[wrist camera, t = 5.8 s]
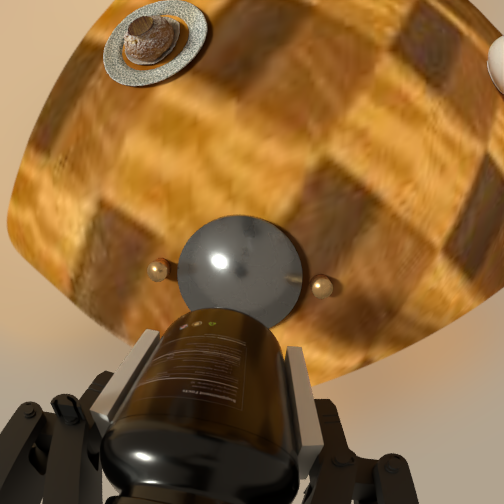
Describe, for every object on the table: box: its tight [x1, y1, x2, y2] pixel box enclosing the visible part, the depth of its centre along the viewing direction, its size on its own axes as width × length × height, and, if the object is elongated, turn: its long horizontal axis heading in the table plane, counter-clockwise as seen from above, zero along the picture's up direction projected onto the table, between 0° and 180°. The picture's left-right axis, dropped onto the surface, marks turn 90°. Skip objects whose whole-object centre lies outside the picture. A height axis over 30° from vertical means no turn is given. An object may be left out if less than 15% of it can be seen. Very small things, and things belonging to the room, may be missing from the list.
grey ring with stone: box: [103, 0, 208, 86], centre depth 19 cm, size 12×12×5 cm
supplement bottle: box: [100, 307, 300, 504], centre depth 8 cm, size 7×7×12 cm
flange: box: [147, 215, 333, 328], centre depth 26 cm, size 12×18×2 cm, turn 85°
